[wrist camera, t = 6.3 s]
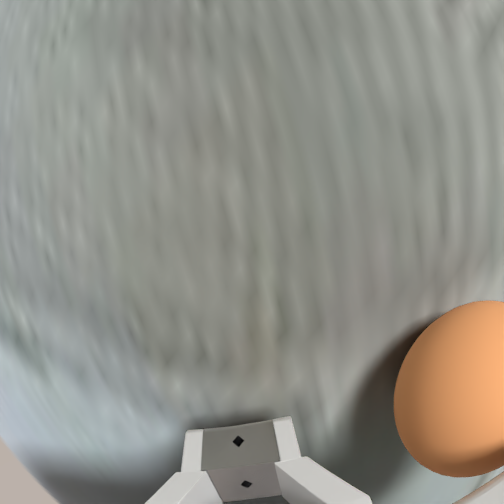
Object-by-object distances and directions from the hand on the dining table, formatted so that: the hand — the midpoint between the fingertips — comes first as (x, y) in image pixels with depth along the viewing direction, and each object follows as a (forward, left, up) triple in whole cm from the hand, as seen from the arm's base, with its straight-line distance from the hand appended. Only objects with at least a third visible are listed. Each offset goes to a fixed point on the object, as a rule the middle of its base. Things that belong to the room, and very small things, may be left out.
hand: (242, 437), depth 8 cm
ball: (0, -7, +1) cm, 7 cm away
